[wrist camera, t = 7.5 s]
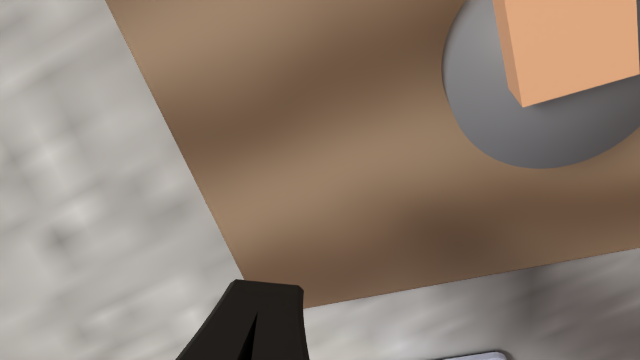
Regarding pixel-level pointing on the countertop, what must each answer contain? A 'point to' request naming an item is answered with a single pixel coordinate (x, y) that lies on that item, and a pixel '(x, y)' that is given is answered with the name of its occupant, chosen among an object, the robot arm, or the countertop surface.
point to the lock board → (358, 149)
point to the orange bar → (544, 77)
